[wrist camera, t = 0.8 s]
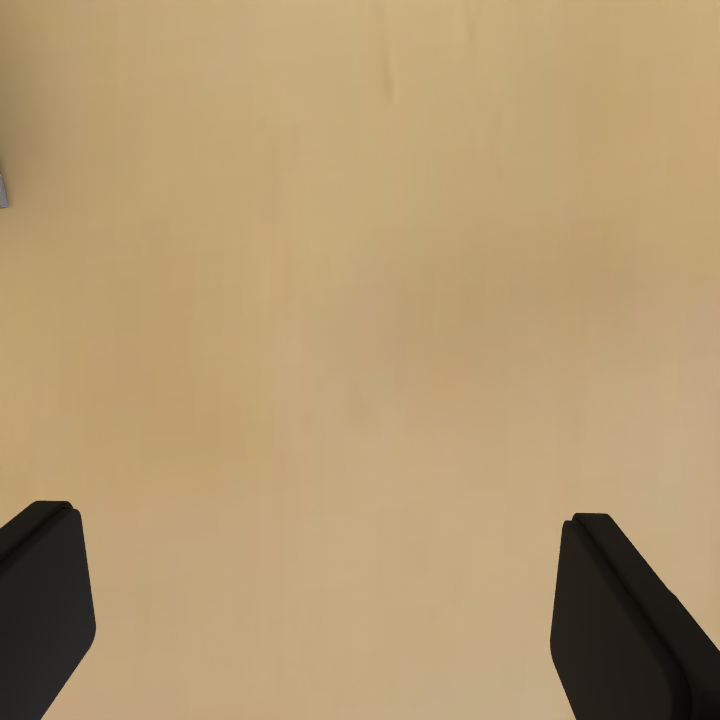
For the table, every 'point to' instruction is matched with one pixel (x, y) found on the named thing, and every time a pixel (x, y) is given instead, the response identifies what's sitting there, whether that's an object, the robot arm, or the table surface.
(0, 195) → the ribbed grey cuboid
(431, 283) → the table surface
